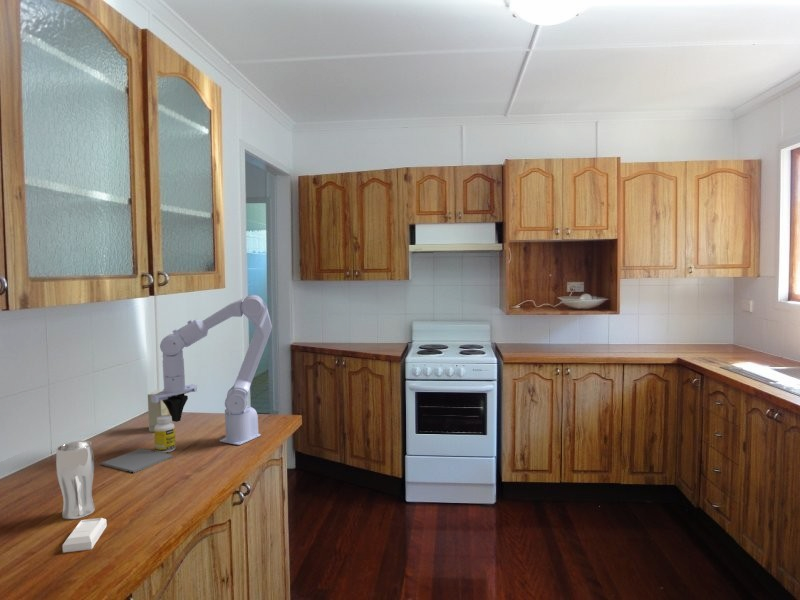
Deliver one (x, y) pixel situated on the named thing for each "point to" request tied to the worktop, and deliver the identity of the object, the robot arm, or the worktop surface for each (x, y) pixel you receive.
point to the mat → (137, 460)
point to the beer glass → (76, 478)
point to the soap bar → (85, 535)
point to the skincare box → (155, 410)
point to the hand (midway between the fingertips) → (176, 420)
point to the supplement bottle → (164, 434)
